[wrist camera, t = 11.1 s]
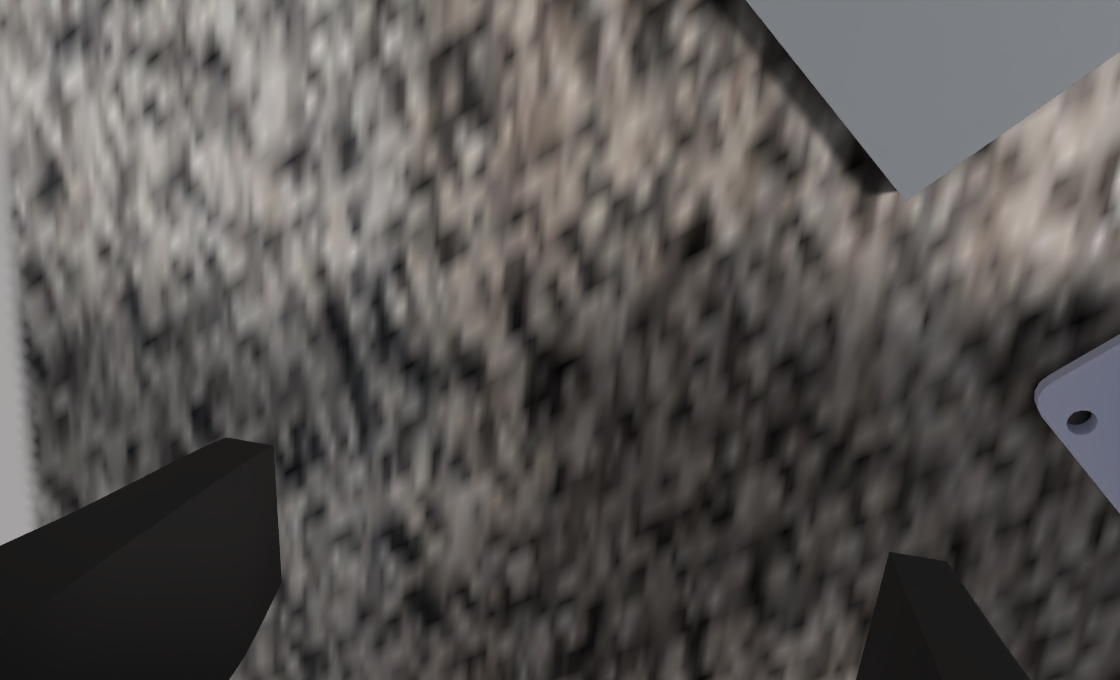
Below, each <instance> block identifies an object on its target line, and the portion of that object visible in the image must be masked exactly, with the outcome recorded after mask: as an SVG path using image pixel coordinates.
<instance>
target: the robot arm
mask: <svg viewBox="0 0 1120 680" xmlns="http://www.w3.org/2000/svg"><path fill="white" fill-rule="evenodd" d="M1034 401H1035V403H1036V406H1037V408H1038V410H1039V412H1040V414H1041V416H1042V418H1043V419H1044V420H1045V421H1046V423H1047V424H1048V425H1049V426H1050V428H1051V429H1052V430H1053V431H1054V433H1055V434H1056V435H1057V436H1058V438H1059V439H1060V440H1061V441H1062V443H1063V444H1064V445H1065V446H1066V447H1067V449H1068V450H1069V451H1070V452H1071V454H1072V455H1073V456H1074V457H1075V459H1076V460H1077V461H1078V462H1079V464H1080V465H1081V466H1082V467H1083V469H1084V470H1085V471H1086V472H1087V474H1088V475H1089V476H1090V477H1091V479H1092V480H1093V481H1094V482H1095V483H1096V485H1097V486H1098V487H1099V488H1100V490H1101V491H1102V492H1103V493H1104V495H1105V496H1106V497H1107V498H1108V500H1109V501H1110V502H1111V503H1112V505H1113V506H1114V507H1115V508H1116V510H1117V511H1118V512H1119V513H1120V334H1119V335H1117V336H1116V337H1114V338H1112V339H1110V340H1109V341H1107V342H1105V343H1104V344H1102V345H1100V346H1098V347H1097V348H1095V349H1093V350H1091V351H1090V352H1088V353H1086V354H1084V355H1083V356H1081V357H1079V358H1078V359H1076V360H1074V361H1072V362H1071V363H1069V364H1067V365H1065V366H1064V367H1062V368H1060V369H1058V370H1057V371H1055V372H1053V373H1052V374H1050V375H1048V376H1047V377H1045V378H1044V379H1043V380H1042V381H1041V382H1040V383H1039V384H1038V386H1037V388H1036V390H1035V394H1034ZM1081 410H1084V411H1090V412H1092V415H1091V418H1090V419H1088V420H1087V421H1086V422H1085V423H1082V424H1079V425H1074V424H1069V423H1067V420H1068V418H1069V417H1070V416H1071V415H1072V414H1073V413H1074V412H1078V411H1081ZM281 582H282V580H281V563H280V547H279V530H278V513H277V497H276V480H275V464H274V447H273V446H272V445H267V444H261V443H255V442H249V441H243V440H238V439H232V438H224V439H222V440H219V441H217V442H214V443H212V444H210V445H208V446H205V447H203V448H201V449H199V450H197V451H195V452H193V453H191V454H189V455H187V456H185V457H183V458H180V459H178V460H176V461H174V462H172V463H171V464H169V465H167V466H165V467H163V468H161V469H159V470H157V471H155V472H153V473H151V474H149V475H147V476H145V477H143V478H141V479H139V480H137V481H135V482H133V483H131V484H129V485H127V486H125V487H123V488H121V489H119V490H117V491H115V492H113V493H111V494H109V495H107V496H105V497H103V498H101V499H99V500H97V501H95V502H93V503H91V504H89V505H87V506H85V507H83V508H81V509H79V510H77V511H75V512H73V513H71V514H69V515H67V516H65V517H62V518H60V519H58V520H56V521H54V522H51V523H49V524H47V525H45V526H43V527H40V528H38V529H36V530H34V531H32V532H29V533H27V534H25V535H23V536H21V537H19V538H17V539H14V540H12V541H10V542H7V543H5V544H3V545H1V546H0V680H229V679H230V677H231V676H232V674H233V673H234V671H235V670H236V668H237V667H238V665H239V664H240V662H241V661H242V659H243V658H244V656H245V655H246V653H247V651H248V649H249V647H250V645H251V643H252V641H253V639H254V637H255V635H256V633H257V632H258V630H259V628H260V626H261V624H262V622H263V620H264V618H265V616H266V613H267V611H268V609H269V607H270V605H271V603H272V601H273V599H274V597H275V595H276V593H277V590H278V588H279V586H280V584H281ZM856 680H1030V679H1029V677H1028V676H1027V675H1026V673H1025V672H1024V671H1023V669H1022V668H1021V666H1020V665H1019V664H1018V662H1017V661H1016V660H1015V658H1014V657H1013V655H1012V654H1011V653H1010V651H1009V650H1008V648H1007V647H1006V646H1005V644H1004V643H1003V641H1002V640H1001V639H1000V637H999V636H998V634H997V633H996V631H995V630H994V629H993V627H992V626H991V624H990V623H989V621H988V620H987V619H986V617H985V616H984V614H983V613H982V611H981V610H980V608H979V607H978V605H977V604H976V603H975V601H974V600H973V598H972V597H971V595H970V594H969V592H968V591H967V589H966V588H965V587H964V585H963V584H962V582H961V581H960V579H959V578H958V577H957V575H956V574H955V572H954V571H953V570H952V568H951V567H950V565H949V564H948V563H947V562H945V561H939V560H933V559H927V558H922V557H916V556H910V555H904V554H898V553H893V552H889V556H888V560H887V564H886V567H885V571H884V575H883V579H882V583H881V586H880V590H879V594H878V598H877V602H876V606H875V609H874V613H873V617H872V621H871V625H870V628H869V632H868V636H867V640H866V644H865V647H864V651H863V655H862V659H861V663H860V667H859V670H858V674H857V678H856Z"/></svg>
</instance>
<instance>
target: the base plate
mask: <svg viewBox="0 0 1120 680" xmlns="http://www.w3.org/2000/svg"><path fill="white" fill-rule="evenodd" d="M746 1H747V2H748V4H749V5H750V6H751V7H752V9H753V10H754V11H755V12H756V14H757V15H758V16H759V17H760V19H761V20H762V21H763V22H764V24H765V25H766V26H767V28H768V29H769V30H770V31H771V33H772V34H773V35H774V36H775V38H776V39H777V40H778V41H779V43H780V44H781V45H782V46H783V48H784V49H785V50H786V51H787V53H788V54H789V55H790V56H791V58H792V59H793V60H794V61H795V63H796V64H797V65H798V66H799V68H800V69H801V70H802V72H803V73H804V74H805V75H806V77H807V78H808V79H809V80H810V82H811V83H812V84H813V85H814V87H815V88H816V89H817V90H818V92H819V93H820V94H821V95H822V97H823V98H824V99H825V100H826V102H827V103H828V104H829V105H830V107H831V108H832V109H833V110H834V112H835V113H836V114H837V116H838V117H839V118H840V119H841V121H842V122H843V123H844V124H845V126H846V127H847V128H848V129H849V131H850V132H851V133H852V134H853V136H854V137H855V138H856V139H857V141H858V142H859V143H860V144H861V146H862V147H863V148H864V149H865V151H866V152H867V153H868V154H869V156H870V157H871V158H872V159H873V161H874V162H875V163H876V165H877V166H878V167H879V168H880V170H881V171H882V172H883V173H884V175H885V176H886V177H887V178H888V180H889V181H890V182H891V183H892V185H893V186H894V187H895V188H896V190H897V191H898V192H899V193H900V195H901V196H902V197H903V198H904V200H905V201H907V200H908V199H910V198H911V197H913V196H914V195H915V194H917V193H918V192H920V191H921V190H923V189H924V188H925V187H927V186H928V185H930V184H931V183H933V182H934V181H935V180H937V179H938V178H940V177H941V176H943V175H944V174H945V173H947V172H948V171H950V170H951V169H953V168H954V167H955V166H957V165H958V164H960V163H961V162H963V161H964V160H966V159H967V158H968V157H970V156H971V155H973V154H974V153H976V152H977V151H978V150H980V149H981V148H983V147H984V146H986V145H987V144H988V143H990V142H991V141H993V140H994V139H996V138H997V137H998V136H1000V135H1001V134H1003V133H1004V132H1006V131H1007V130H1008V129H1010V128H1011V127H1013V126H1014V125H1016V124H1017V123H1018V122H1020V121H1021V120H1023V119H1024V118H1026V117H1027V116H1028V115H1030V114H1031V113H1033V112H1034V111H1036V110H1037V109H1039V108H1040V107H1041V106H1043V105H1044V104H1046V103H1047V102H1049V101H1050V100H1051V99H1053V98H1054V97H1056V96H1057V95H1059V94H1060V93H1061V92H1063V91H1064V90H1066V89H1067V88H1069V87H1070V86H1071V85H1073V84H1074V83H1076V82H1077V81H1079V80H1080V79H1081V78H1083V77H1084V76H1086V75H1087V74H1089V73H1090V72H1091V71H1093V70H1094V69H1096V68H1097V67H1099V66H1100V65H1102V64H1103V63H1104V62H1106V61H1107V60H1109V59H1110V58H1112V57H1113V56H1114V55H1116V54H1117V53H1119V52H1120V0H746Z"/></svg>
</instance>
